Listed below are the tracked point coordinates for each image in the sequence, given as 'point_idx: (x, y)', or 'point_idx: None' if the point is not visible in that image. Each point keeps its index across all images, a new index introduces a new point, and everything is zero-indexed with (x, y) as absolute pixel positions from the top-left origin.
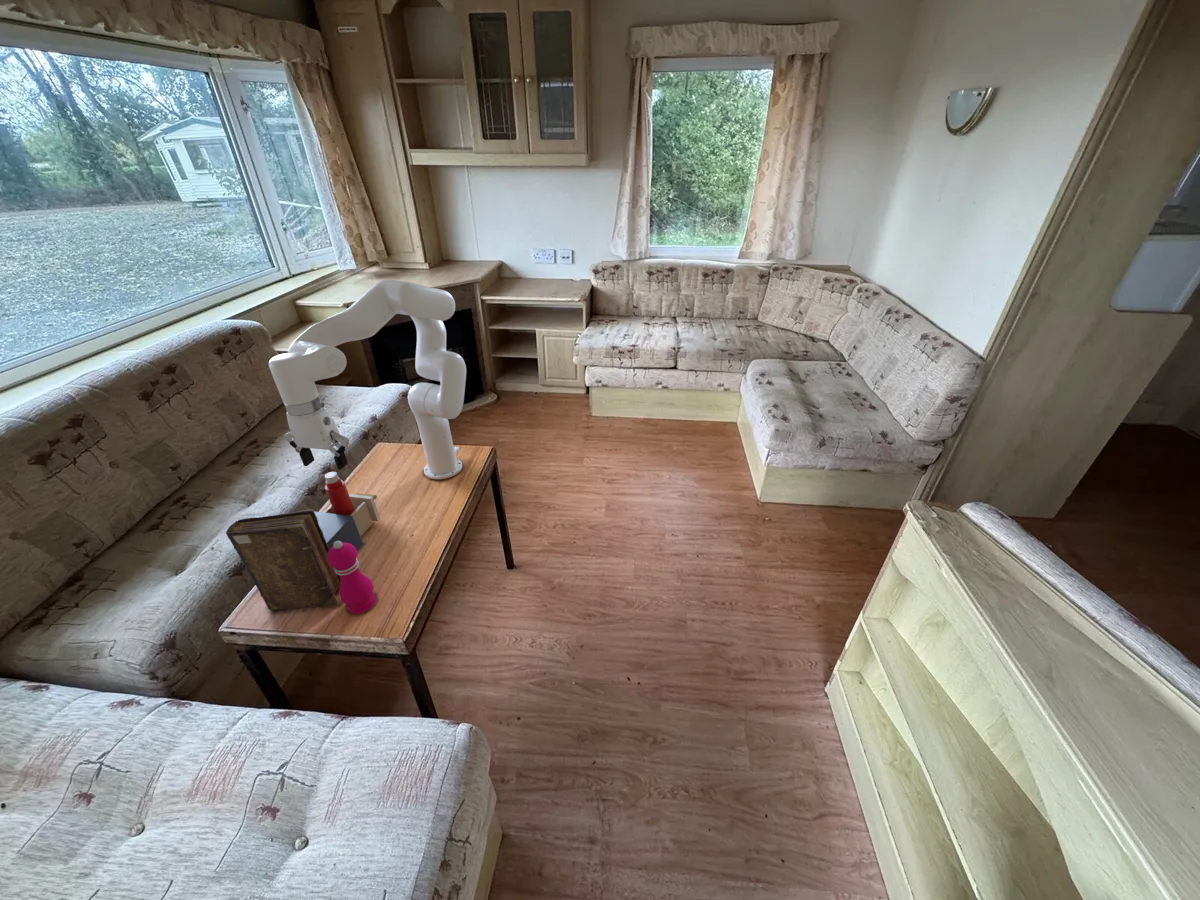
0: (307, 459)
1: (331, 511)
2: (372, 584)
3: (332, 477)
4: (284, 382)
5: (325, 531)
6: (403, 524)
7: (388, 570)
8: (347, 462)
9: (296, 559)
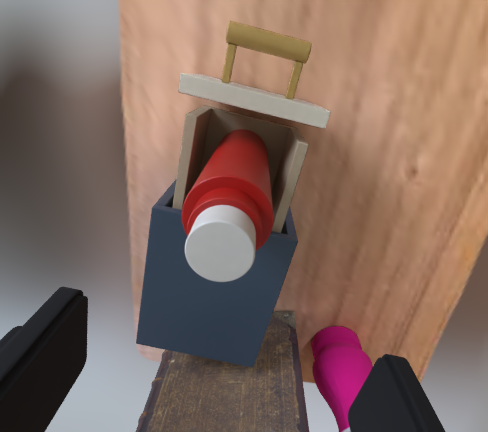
0: (58, 385)
1: (191, 167)
2: (372, 366)
3: (242, 275)
4: None
5: (239, 299)
6: (382, 121)
7: (368, 278)
8: (407, 364)
9: None
